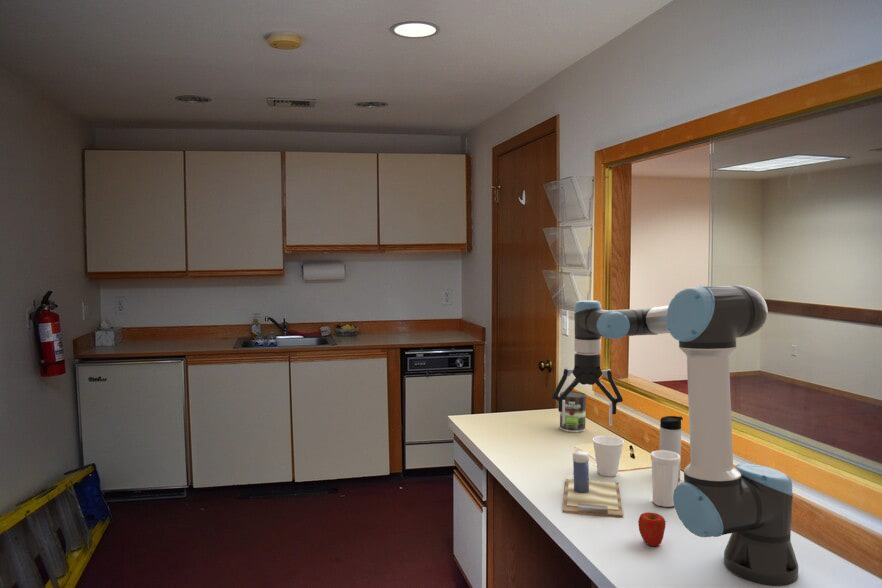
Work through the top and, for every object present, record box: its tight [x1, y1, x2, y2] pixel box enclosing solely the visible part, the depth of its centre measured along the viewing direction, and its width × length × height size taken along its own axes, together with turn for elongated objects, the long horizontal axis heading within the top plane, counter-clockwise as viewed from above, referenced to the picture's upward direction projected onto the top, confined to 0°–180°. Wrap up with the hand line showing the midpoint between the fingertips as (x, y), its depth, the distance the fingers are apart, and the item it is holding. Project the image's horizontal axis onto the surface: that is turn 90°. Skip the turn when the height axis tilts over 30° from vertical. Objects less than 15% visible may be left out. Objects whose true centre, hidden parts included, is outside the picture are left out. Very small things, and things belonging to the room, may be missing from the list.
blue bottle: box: [572, 450, 590, 493], centre depth 187 cm, size 5×5×11 cm
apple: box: [637, 511, 667, 547], centre depth 156 cm, size 6×6×8 cm
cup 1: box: [591, 435, 625, 477], centre depth 203 cm, size 10×10×11 cm
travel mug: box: [659, 415, 684, 482], centre depth 198 cm, size 6×7×20 cm
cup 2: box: [650, 449, 680, 508], centre depth 179 cm, size 8×8×14 cm
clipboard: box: [562, 478, 624, 519], centre depth 184 cm, size 24×16×2 cm, turn 167°
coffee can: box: [559, 390, 587, 433], centre depth 252 cm, size 10×10×14 cm
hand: (586, 423), depth 187 cm, fingers open, 13 cm apart
